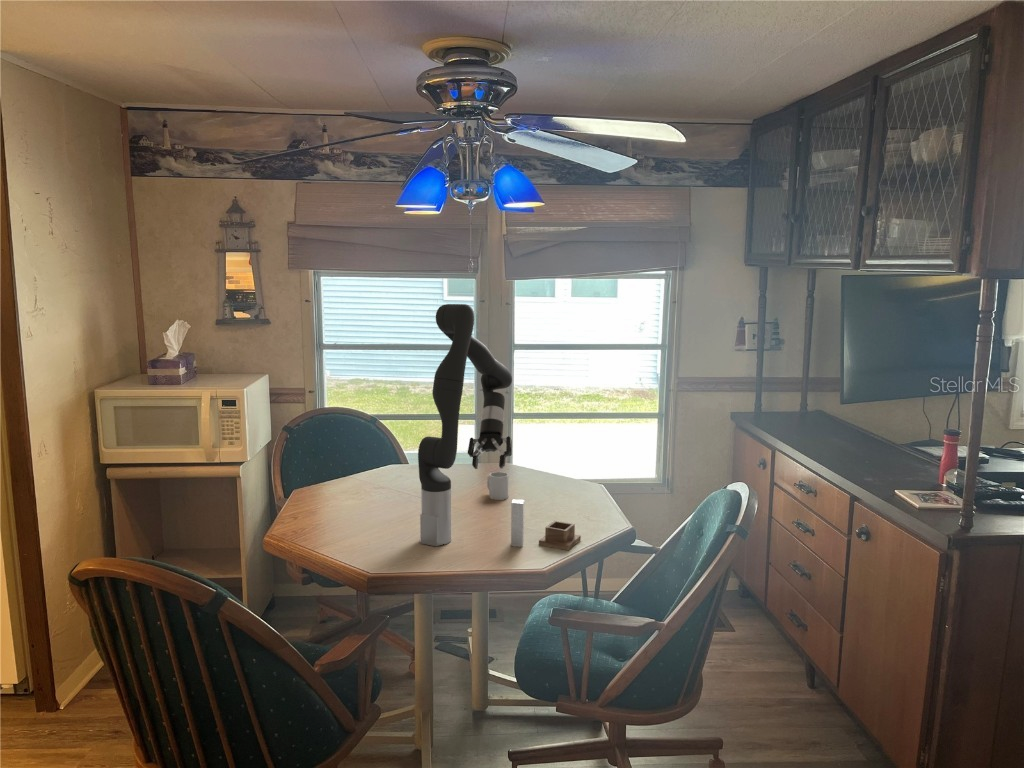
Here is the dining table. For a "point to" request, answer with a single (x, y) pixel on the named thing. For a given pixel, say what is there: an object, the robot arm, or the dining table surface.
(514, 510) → the grey rectangular block
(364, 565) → the dining table surface
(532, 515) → the dining table surface
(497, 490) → the cup
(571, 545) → the wooden socket base
